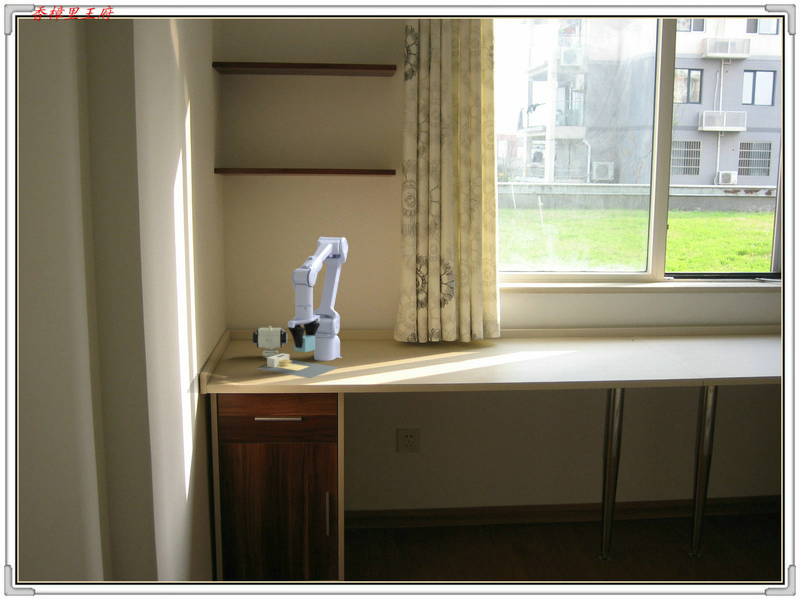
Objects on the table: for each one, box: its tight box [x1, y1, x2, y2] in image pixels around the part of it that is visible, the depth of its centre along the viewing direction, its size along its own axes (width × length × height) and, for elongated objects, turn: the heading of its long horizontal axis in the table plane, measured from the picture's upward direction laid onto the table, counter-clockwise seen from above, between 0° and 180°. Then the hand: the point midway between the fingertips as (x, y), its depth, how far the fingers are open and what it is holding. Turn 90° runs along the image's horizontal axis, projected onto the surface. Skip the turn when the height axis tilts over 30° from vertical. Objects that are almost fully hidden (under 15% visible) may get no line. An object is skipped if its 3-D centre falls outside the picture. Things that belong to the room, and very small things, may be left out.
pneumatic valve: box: [252, 325, 289, 359], centre depth 246 cm, size 6×12×12 cm, turn 93°
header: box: [266, 352, 292, 368], centre depth 235 cm, size 8×6×3 cm
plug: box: [293, 333, 315, 353], centre depth 229 cm, size 5×5×5 cm
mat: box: [257, 358, 340, 379], centre depth 232 cm, size 16×22×1 cm
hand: (304, 345), depth 229 cm, fingers closed on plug, 5 cm apart
